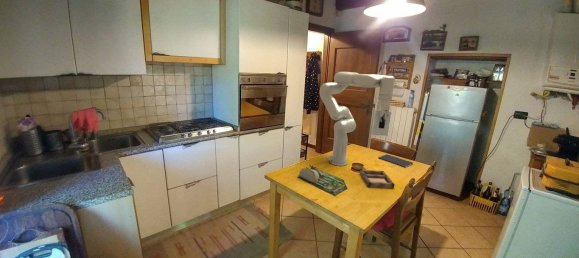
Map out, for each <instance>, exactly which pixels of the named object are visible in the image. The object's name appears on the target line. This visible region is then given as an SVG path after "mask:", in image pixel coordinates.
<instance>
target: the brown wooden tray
mask: <svg viewBox="0 0 579 258" xmlns="http://www.w3.org/2000/svg"><path fill="white" fill-rule="evenodd" d="M359 175H360V177H361V178H362V181H364V183H365V184H366V186H367V188H378V189H395V186H396V185H395V183H394V182H393V180H392V179H391V178H390V177H389V176H388V174H386V172H385V171H384V170H375V169H374V170H373V169H372V170H371V169H360V170H359ZM368 178H378V179H385V181H386V182H387V183H383V182H370V181H369V179H368Z"/></svg>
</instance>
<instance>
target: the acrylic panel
mask: <svg viewBox="0 0 579 258" xmlns="http://www.w3.org/2000/svg"><path fill="white" fill-rule="evenodd" d="M378 114H379V111H378V110H376V109H374V110H373V116H372V117H373V119H372V124H371V133H370V134H371V135H372V136H385V137H386V136H388V135H389V128H390V122H391V118H392V117H391V115H392V111H391V110H389V116H388V117H387V119H386V122H385V126H384V128H379V122H380V119H381V117H379V116H378ZM382 117H384V116H382Z"/></svg>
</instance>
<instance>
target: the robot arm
mask: <svg viewBox="0 0 579 258" xmlns="http://www.w3.org/2000/svg"><path fill="white" fill-rule="evenodd" d="M333 80H334V81H333V82H331V81H330V82H324V83H322V85H321V86H320V87H319V88H320V89H319V96H320V100H321V101H322V102H323V103H322V104H324V106H325V108H326V111H327V112H328V115H329V116H330V119H332V120H334V121H336V122H335V123H334V125H333V133H334V135H333V136H334V137H333V146H332V154H331V155H330V156H328V155H327V156H325V160H328V161H329V163H330V164H332V165H335V166H338V167H339V166H341V167H342V166H343V167H344V166H347V165H348V160H346V158H347V151H348V150H347V149H348V139H349V138H348V135H347V133H351V132H354V131H355V130H356V129H357V124H356V121H355V119H354V116H353V114H352V113H351V111H350V109H349V108H348V107H347V106H344V105H339V104H338V101H337V100H336V98H335V97H334V96H333V95H337V94H341V93H342V92H343V91H344V90H346V88H348V87H349V86H352V87H361V88H379V90H378V96H377V103H376V104H377V105H376V107H375V108H376V109H375V110H378V111H379V114H378V116H379V117H381V119H380V122H379V128H384V126H385V122H386V119H387V117H388V116H389V111H391V110H390V107H391V101H392V99H393V93H394V87H395V82H396V81H395V80H396V77H395V76H393V75H381V74H366V73H365V74H364V73H358V72H354V71H353V72H352V71H351V72H350V71H338V72H337V73H335V75H334V77H333ZM382 116H384V117H382Z"/></svg>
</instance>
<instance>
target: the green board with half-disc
mask: <svg viewBox="0 0 579 258" xmlns="http://www.w3.org/2000/svg"><path fill="white" fill-rule="evenodd" d="M309 167H310V168H309ZM309 167H304V168H301V169H300V171H299V174H298V176H296V177H297V179H299V180H301V181H303V182H306V183H308V184H310V185H311V186H314V187H316V188H317V189H319V190H322V191H324V192H325V193H328V194H330V195H332V196H334V197H336V196H337V195H339V194H341V193H343V192H344V191H346V190H347V189H348V187H347V185H346V182H345V180H344V179H343V178H340V177H338V176H335V175H333V174H331V173H328V172H327V171H325V170H322V169H319V168H318V167H317V166H313V165H311V164H310V163H309Z"/></svg>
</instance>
